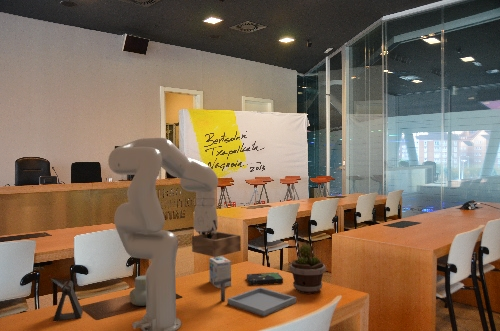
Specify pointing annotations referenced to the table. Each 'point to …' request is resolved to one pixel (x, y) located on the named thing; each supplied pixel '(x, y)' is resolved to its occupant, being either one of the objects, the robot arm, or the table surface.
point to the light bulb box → (219, 270)
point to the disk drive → (264, 278)
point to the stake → (222, 286)
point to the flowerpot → (307, 271)
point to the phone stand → (74, 302)
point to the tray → (261, 301)
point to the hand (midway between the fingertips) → (206, 248)
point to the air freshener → (139, 291)
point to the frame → (216, 244)
